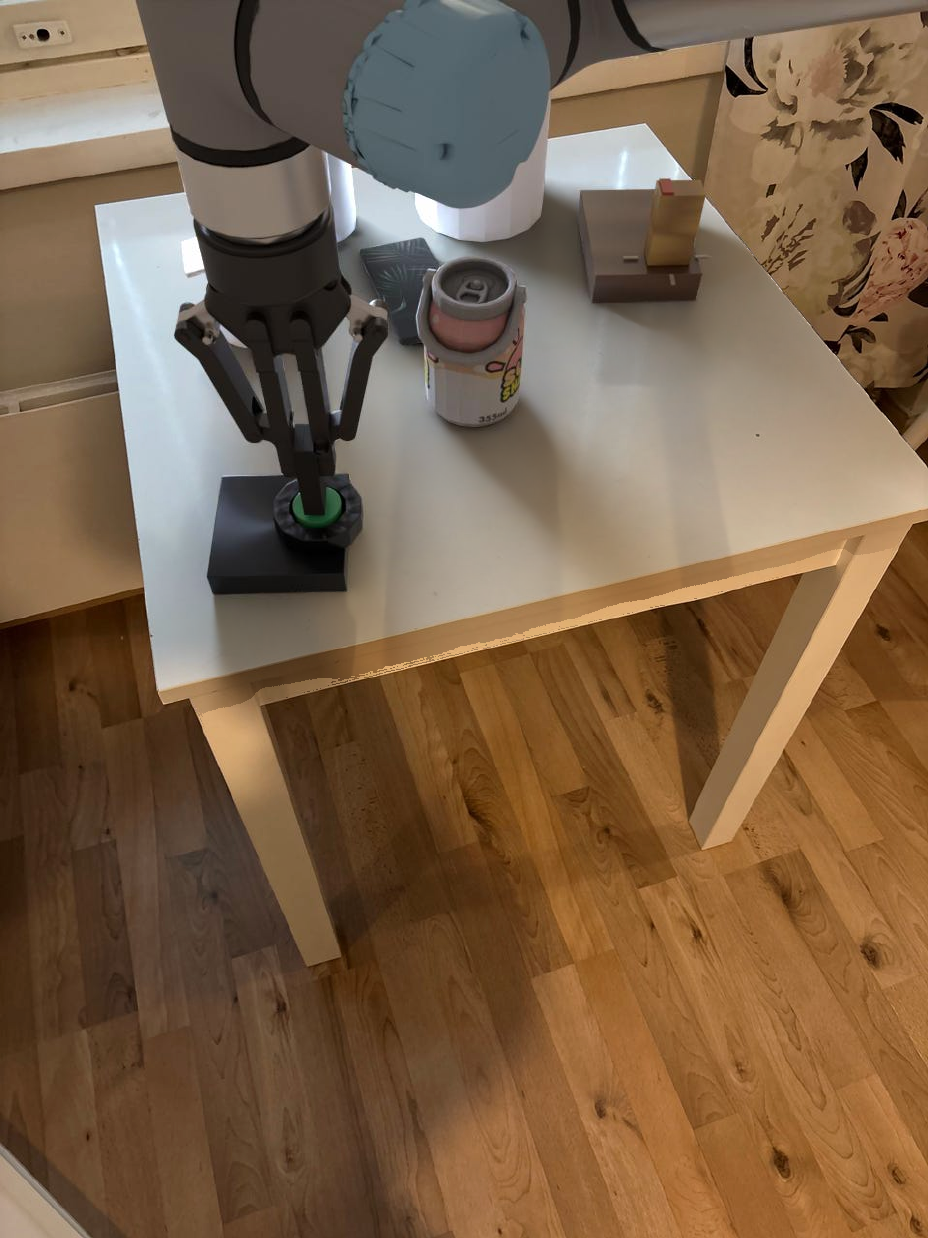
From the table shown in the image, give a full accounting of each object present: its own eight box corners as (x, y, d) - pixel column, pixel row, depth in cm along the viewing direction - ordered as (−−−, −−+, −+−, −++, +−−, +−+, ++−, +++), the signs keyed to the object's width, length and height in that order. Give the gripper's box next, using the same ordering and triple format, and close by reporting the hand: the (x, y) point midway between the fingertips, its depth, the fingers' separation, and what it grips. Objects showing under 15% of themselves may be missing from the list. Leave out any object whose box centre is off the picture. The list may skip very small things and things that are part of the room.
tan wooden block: (685, 249, 90) (701, 176, 84) (689, 265, 89) (706, 192, 83) (643, 249, 90) (656, 177, 84) (647, 265, 89) (660, 193, 83)
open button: (342, 537, 71) (340, 521, 69) (294, 538, 71) (290, 522, 69) (344, 500, 73) (342, 485, 71) (297, 501, 73) (294, 486, 71)
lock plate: (710, 311, 90) (717, 282, 87) (593, 313, 90) (597, 284, 87) (683, 215, 99) (689, 186, 96) (577, 216, 98) (580, 188, 96)
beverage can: (504, 450, 79) (511, 333, 69) (408, 430, 81) (401, 312, 71) (530, 377, 84) (540, 259, 75) (439, 359, 86) (437, 241, 76)
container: (567, 221, 98) (589, 9, 81) (450, 256, 94) (448, 41, 78) (506, 157, 105) (515, -52, 88) (395, 186, 101) (383, -24, 85)
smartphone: (423, 235, 95) (472, 325, 87) (424, 244, 96) (472, 334, 87) (357, 248, 93) (400, 341, 85) (358, 257, 94) (400, 350, 86)
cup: (352, 248, 95) (342, 151, 87) (270, 247, 95) (252, 150, 87) (358, 200, 100) (349, 103, 92) (280, 199, 100) (264, 102, 92)
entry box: (363, 591, 71) (359, 558, 68) (212, 594, 71) (200, 561, 67) (367, 491, 77) (363, 456, 73) (227, 494, 76) (216, 459, 73)
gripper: (385, 165, 53) (404, 462, 72) (149, 167, 53) (232, 465, 72) (383, 246, 49) (403, 538, 68) (127, 249, 48) (221, 542, 68)
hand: (315, 500), depth 70 cm, fingers closed
